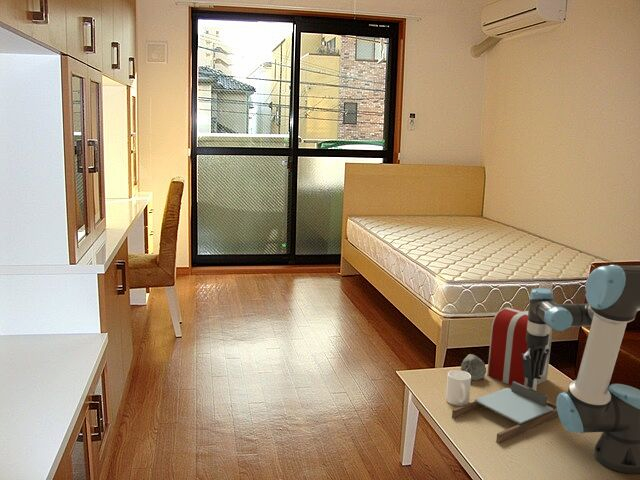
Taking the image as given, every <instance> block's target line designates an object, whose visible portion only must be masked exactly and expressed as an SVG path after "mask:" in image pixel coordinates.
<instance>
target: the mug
mask: <svg viewBox="0 0 640 480" xmlns="http://www.w3.org/2000/svg"><path fill="white" fill-rule="evenodd" d="M471 382H472V380H471V375H470V374H469V373H468V372H465V371H461V369H460V370H459V369H456V370H455V369H454V370H450V371H448V372H447V379H446V393H445V400H446V402H447V403H448V404H450V405H452V406H455V407H456V406H457V407H461V406H463V405H466V404H469V403H470V395H471V394H470V393H471V384H472V383H471Z"/></svg>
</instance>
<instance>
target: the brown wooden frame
mask: <svg viewBox="0 0 640 480" xmlns="http://www.w3.org/2000/svg"><path fill="white" fill-rule="evenodd" d="M509 388H510V389H511V388H512V387H509ZM547 406H549V407H551V408H553V409H554V410H553V411H550V412H548V413H546V414H543V415H541V416H539V417H536V418H534V419H532V420H529V421H527V422H524V423H522V424H519V423H517V422H515V421H513V420H511V419H509V418H507V417H505V416H503V415H501V414H499V413H497V412H495V411H493V410H491V409H489V408H487V407H485V406H483V405H481V404H479V403H477V402H476V401H475V400H474V401H473V402H468V404H466V405H463V406H457V407H455V408H453V409H452V411H451V415H452V416H451V418H452V419H456V418H457V419H458V418H460V417H463V416H465V415H468V414H470V413H473V412H476V411H478V410H481V409H483V408H487V409H488V410H491V411H493V412H494V413H496V414H497V415H500V416H502V417H504V418H506V419H508V420H510V421H512V422H514V423H516V424H517V425H514V426H511V427H509V428H506V429H504V430H502V431H500V432H497V433H496V439H495V443H497V444H500V443H503V442H505V441H508V440H509V439H512V438H514V437H517V436H519V435H521V434H524V433H526V432H527V431H530V430H532V429H534V428H537V427H539V426H542V425H543V424H546V423H548V422H551V421H553V420H555V419H557V418H559V416H558V412H557V403H556V404H555V403H554V402H551V401H549V400H547Z"/></svg>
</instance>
